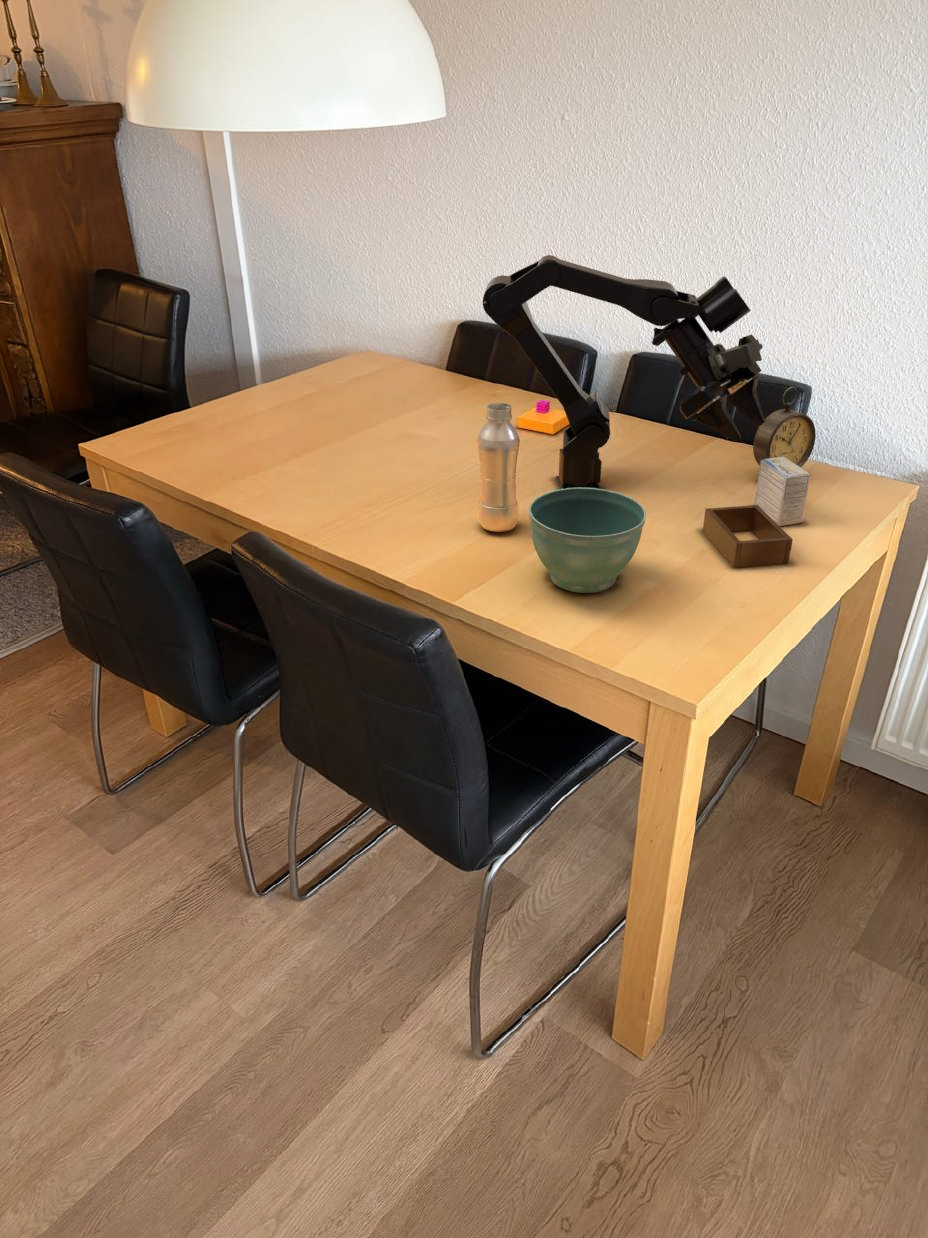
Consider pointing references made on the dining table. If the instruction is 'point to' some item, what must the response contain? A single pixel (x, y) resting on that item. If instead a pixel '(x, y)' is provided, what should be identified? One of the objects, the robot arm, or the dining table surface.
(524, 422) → the orange slab
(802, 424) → the alarm clock
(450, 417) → the dining table surface
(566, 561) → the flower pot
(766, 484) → the medicine box
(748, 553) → the wooden box
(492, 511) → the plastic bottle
